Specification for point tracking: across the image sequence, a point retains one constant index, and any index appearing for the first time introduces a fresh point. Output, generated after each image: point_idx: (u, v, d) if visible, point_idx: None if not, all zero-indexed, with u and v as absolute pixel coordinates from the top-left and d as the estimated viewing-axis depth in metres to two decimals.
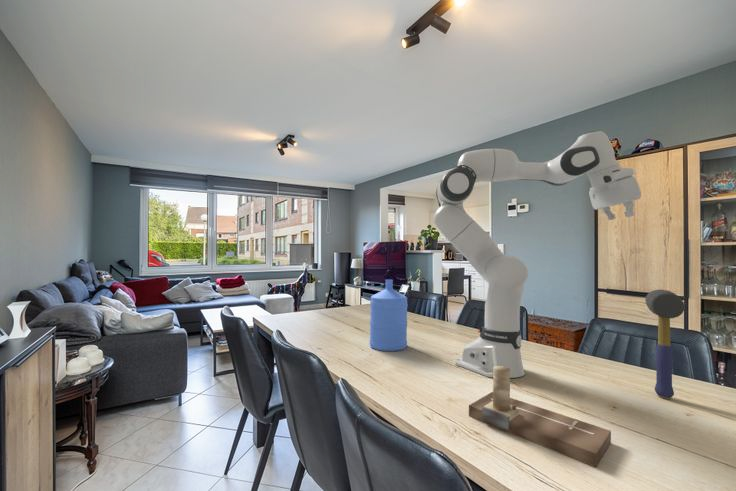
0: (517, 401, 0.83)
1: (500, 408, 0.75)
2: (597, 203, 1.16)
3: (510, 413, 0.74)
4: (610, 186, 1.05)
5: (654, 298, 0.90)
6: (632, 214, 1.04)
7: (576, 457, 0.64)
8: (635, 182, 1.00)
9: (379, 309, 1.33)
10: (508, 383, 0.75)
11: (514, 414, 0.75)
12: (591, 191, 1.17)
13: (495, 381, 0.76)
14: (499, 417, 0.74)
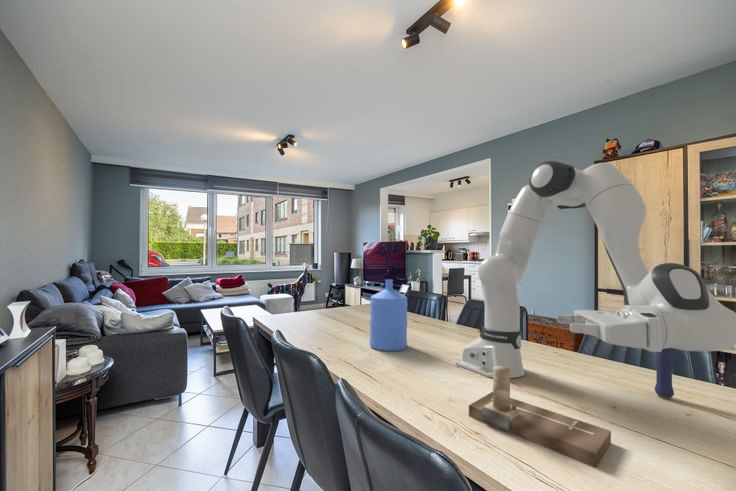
0: (517, 401, 0.83)
1: (500, 408, 0.75)
2: (587, 311, 0.78)
3: (510, 413, 0.74)
4: (630, 318, 0.66)
5: None
6: (573, 329, 0.68)
7: (576, 457, 0.64)
8: (637, 344, 0.62)
9: (379, 309, 1.33)
10: (508, 383, 0.75)
11: (514, 414, 0.75)
12: (609, 312, 0.77)
13: (495, 381, 0.76)
14: (499, 417, 0.74)
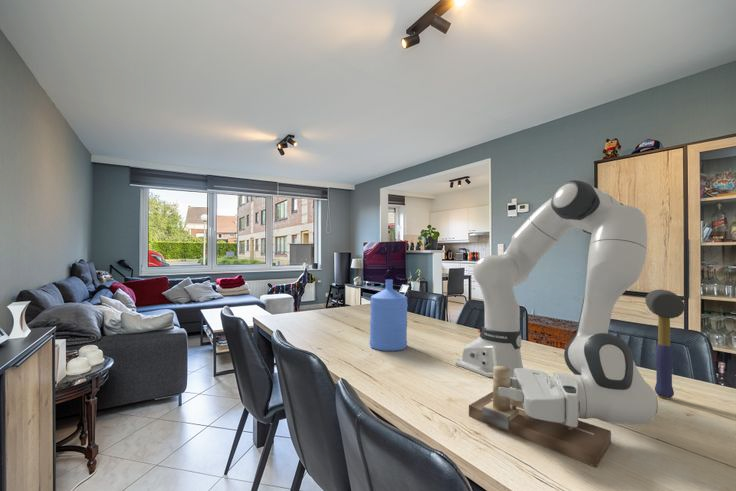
0: (517, 401, 0.83)
1: (500, 408, 0.75)
2: (524, 372, 0.81)
3: (510, 413, 0.74)
4: (554, 389, 0.70)
5: (654, 298, 0.90)
6: (500, 393, 0.74)
7: (576, 457, 0.64)
8: (554, 419, 0.65)
9: (379, 309, 1.33)
10: (508, 383, 0.75)
11: (514, 414, 0.75)
12: (545, 373, 0.81)
13: (495, 381, 0.76)
14: (499, 417, 0.74)
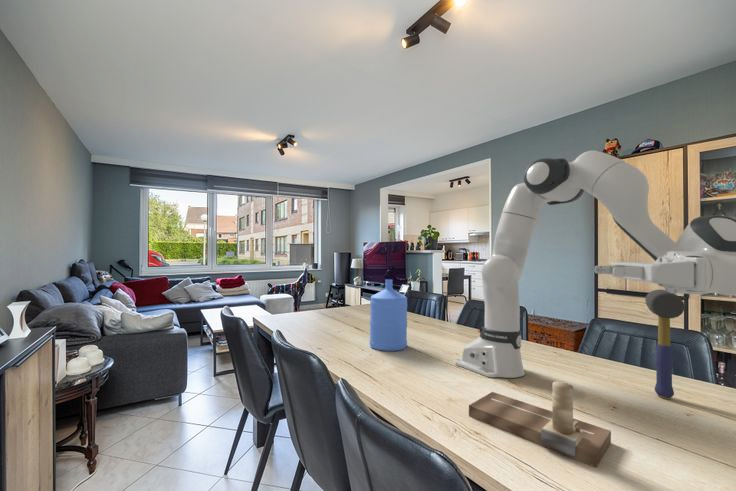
0: (517, 401, 0.83)
1: (563, 431, 0.66)
2: None
3: (575, 437, 0.65)
4: (676, 260, 0.66)
5: (654, 298, 0.90)
6: (616, 273, 0.68)
7: (576, 457, 0.64)
8: (684, 282, 0.61)
9: (379, 309, 1.33)
10: (571, 402, 0.66)
11: (579, 438, 0.65)
12: None
13: (556, 400, 0.67)
14: (563, 442, 0.64)
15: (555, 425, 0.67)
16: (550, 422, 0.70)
